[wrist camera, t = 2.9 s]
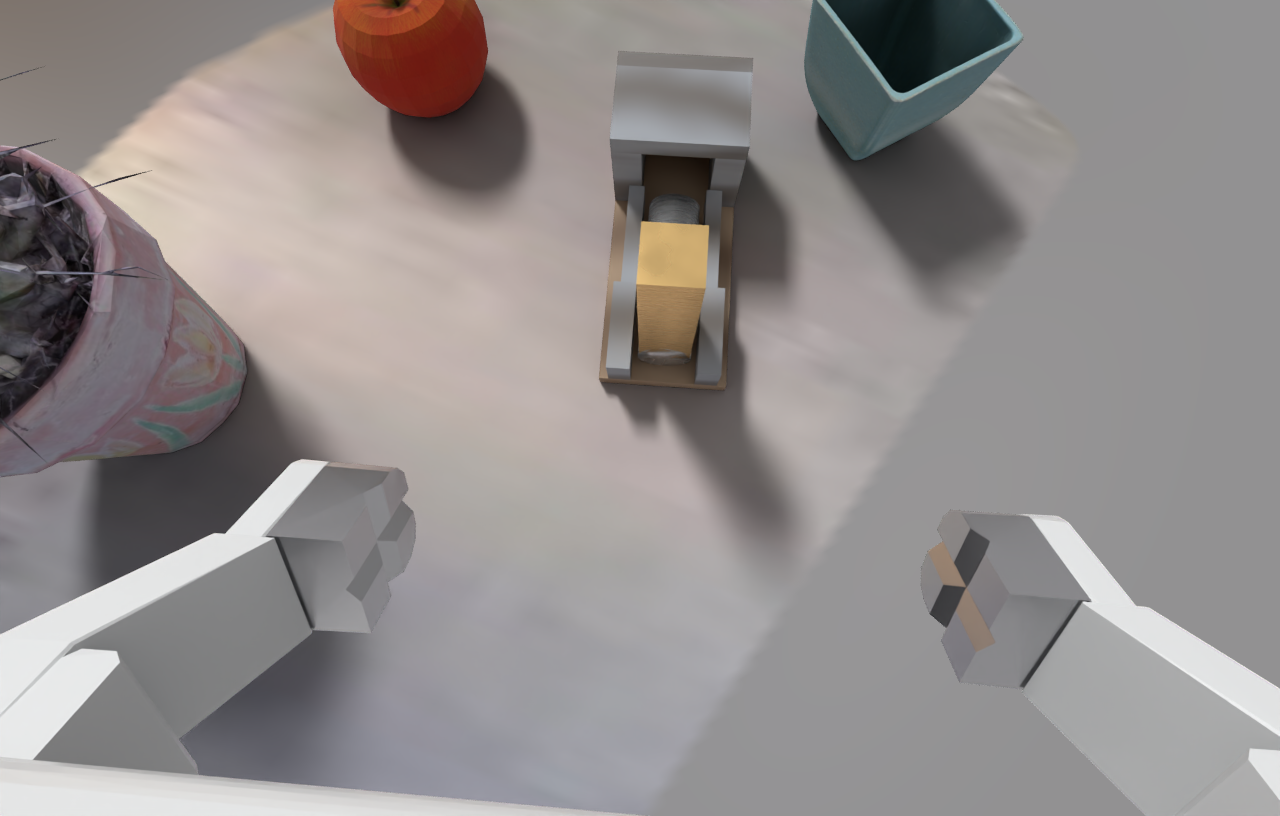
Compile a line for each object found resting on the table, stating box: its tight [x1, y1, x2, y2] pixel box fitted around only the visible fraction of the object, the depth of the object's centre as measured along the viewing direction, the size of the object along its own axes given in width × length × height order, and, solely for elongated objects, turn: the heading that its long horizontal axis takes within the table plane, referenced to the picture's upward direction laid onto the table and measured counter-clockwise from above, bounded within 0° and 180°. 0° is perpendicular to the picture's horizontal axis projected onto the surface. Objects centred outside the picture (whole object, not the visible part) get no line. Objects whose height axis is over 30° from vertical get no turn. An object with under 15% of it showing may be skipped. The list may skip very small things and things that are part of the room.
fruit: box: [333, 0, 488, 118], centre depth 38 cm, size 10×10×10 cm
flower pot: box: [804, 0, 1024, 160], centre depth 37 cm, size 9×9×9 cm
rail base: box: [599, 51, 753, 390], centre depth 36 cm, size 18×8×7 cm, turn 176°
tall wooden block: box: [636, 194, 709, 366], centre depth 32 cm, size 10×3×12 cm, turn 176°
